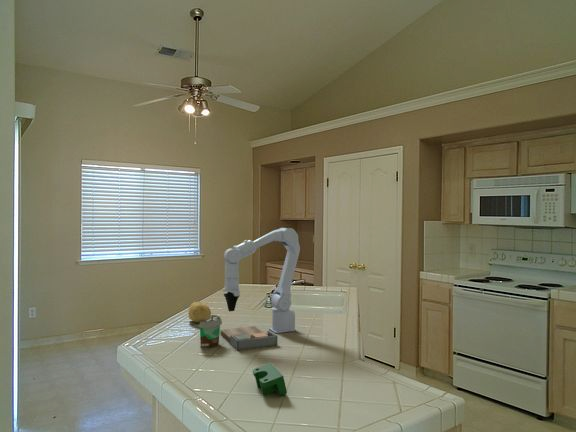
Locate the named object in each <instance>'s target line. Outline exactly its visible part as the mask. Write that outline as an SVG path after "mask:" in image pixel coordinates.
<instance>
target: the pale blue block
mask: <svg viewBox="0 0 576 432" xmlns="http://www.w3.org/2000/svg"><path fill="white" fill-rule="evenodd" d="M234 337H235V338H236V339H237V340H246V339H251V337H249V336H248V335H238V336H234Z"/></svg>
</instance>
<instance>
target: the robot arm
mask: <svg viewBox="0 0 576 432" xmlns="http://www.w3.org/2000/svg"><path fill="white" fill-rule="evenodd" d="M274 241H275V242H279V243H281V244H282V245H283V247H284V248H285V249H286V251H287V252H286V255H285V259H284V262H283V266H282V270H281V274H280V278H279V281H278V285H277V286H276V287H275V290H274V292H273V294H272V295H271V297H270V303H271V305H272V309H271V311H272V312H271V313H272V314H271V316H272V318H271V327H268V330H269V331H270V332H272V333H274V334H282V333H288V332H296V313H295V311H294V309H293V308H290V307H291V306H292V299H291V298H292V291H291V286H292V283H293V279H294V275H295V271H296V267H297V263H298V260H299V256H300V252H301V245H300V242H299V235H298V233H297V232H296V230H295V229H293V228H291V227H289V228H287V227H279V228H278V229H274V230H272V231H270V232H268V233H267V234H264V235H263V236H261V237H259V238H257V239H255V240H251V239H248V240H247V239H245V240H243V242H241V243H240V244H238V245H233V246H232V247H233V248H228V249H226V250H225V251H224V254H223V259H224V286H223V288H221V291H222V292H227V293H223V296H224V298H225V301H226V305H227V311H228V312H235V309H236V306H237V302H238V300H239V298H240V296H241V293H240V292H241V291H240V288H239V286H240V284H239V283H240V282H239V281H240V277H239V276H240V275H239V274H240V273H239V272H240V269H239V268H240V267H239V264H240V263H239V262H240V261H241V259H244V258H246V257H248V256H250V255H252V254H254V253H256V251H257V249H258V248H260V247H263V246H265V245H266V244H269V243H272V242H274Z"/></svg>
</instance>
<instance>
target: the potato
mask: <svg viewBox="0 0 576 432" xmlns="http://www.w3.org/2000/svg"><path fill="white" fill-rule="evenodd" d="M211 315H212V311H211V308H210V307H209V306H208V305H207V304H206V303H204V302H202V301H194V302H192V303H191V304H190V306H189V307H188V319H189V320H191V321H192V322H193V323H198V324H200V322H204V321H205V320H206V319H209V318H211Z"/></svg>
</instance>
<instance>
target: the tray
mask: <svg viewBox="0 0 576 432" xmlns="http://www.w3.org/2000/svg"><path fill="white" fill-rule="evenodd" d="M266 334H267V335H268V337H262V338H254V339H246V340H237V339H236V338H235V337H233V336H232V335H230V343H229V345H230V346H232V348H233V349H235V350H236V351H244V350H245V351H246V350H252V349H259V348H265V347H266V348H267V347H275V346H276V347H277V346H278V335H277V334H276V333H274V332H273V331H271V330H267V332H266Z"/></svg>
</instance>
